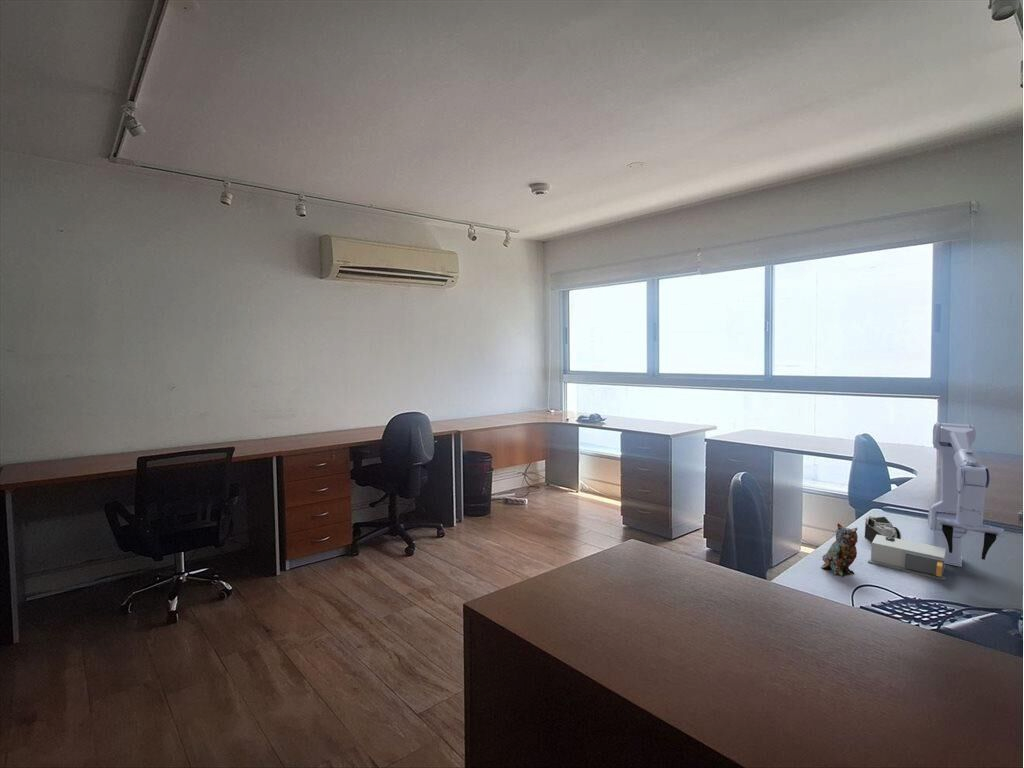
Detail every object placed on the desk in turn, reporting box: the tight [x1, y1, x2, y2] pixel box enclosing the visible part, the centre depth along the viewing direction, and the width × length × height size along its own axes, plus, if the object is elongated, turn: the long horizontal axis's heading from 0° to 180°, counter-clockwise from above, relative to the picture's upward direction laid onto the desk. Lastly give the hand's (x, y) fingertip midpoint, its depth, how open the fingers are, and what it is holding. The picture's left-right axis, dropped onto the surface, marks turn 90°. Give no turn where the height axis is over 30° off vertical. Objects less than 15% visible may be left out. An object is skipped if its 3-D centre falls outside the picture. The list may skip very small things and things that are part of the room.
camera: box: [864, 515, 902, 545], centre depth 185 cm, size 16×9×10 cm, turn 168°
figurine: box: [820, 522, 858, 578], centre depth 164 cm, size 9×9×15 cm
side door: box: [905, 552, 945, 577], centre depth 161 cm, size 5×9×5 cm, turn 49°
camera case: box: [867, 535, 946, 581], centre depth 169 cm, size 12×19×6 cm, turn 49°
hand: (966, 555), depth 154 cm, fingers open, 6 cm apart
